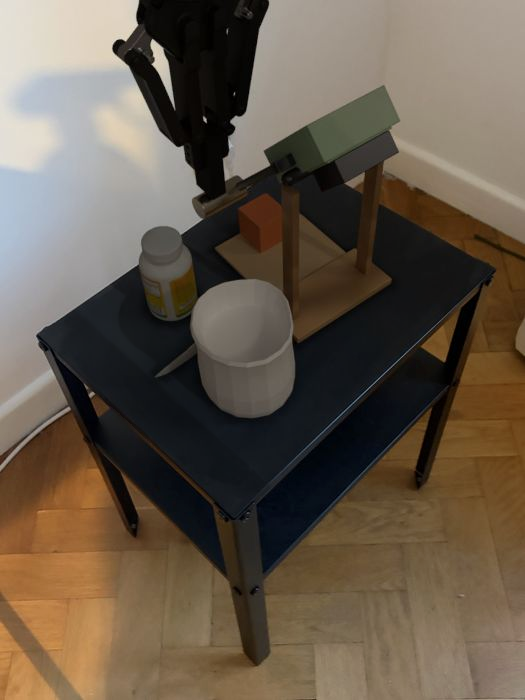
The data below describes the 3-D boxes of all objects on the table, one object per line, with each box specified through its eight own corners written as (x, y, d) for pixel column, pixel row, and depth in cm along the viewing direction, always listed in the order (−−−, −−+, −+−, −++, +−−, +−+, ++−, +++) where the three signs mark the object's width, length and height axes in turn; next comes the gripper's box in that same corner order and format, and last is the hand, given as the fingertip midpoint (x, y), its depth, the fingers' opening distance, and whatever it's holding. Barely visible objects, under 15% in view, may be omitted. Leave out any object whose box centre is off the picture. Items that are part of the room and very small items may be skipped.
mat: (346, 255, 82) (346, 253, 81) (268, 303, 78) (268, 300, 78) (290, 207, 87) (290, 204, 86) (214, 250, 83) (214, 247, 83)
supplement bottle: (147, 324, 77) (130, 261, 69) (150, 285, 80) (134, 222, 72) (198, 321, 77) (187, 258, 69) (199, 283, 80) (188, 219, 72)
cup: (253, 324, 76) (248, 260, 68) (319, 383, 72) (322, 321, 64) (181, 375, 73) (167, 314, 65) (245, 440, 68) (239, 383, 60)
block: (237, 208, 80) (259, 227, 78) (266, 192, 82) (288, 211, 80) (239, 234, 84) (260, 253, 82) (267, 218, 85) (288, 237, 83)
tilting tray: (212, 244, 70) (185, 193, 69) (337, 174, 75) (314, 125, 74) (278, 221, 56) (245, 156, 55) (426, 137, 61) (399, 76, 60)
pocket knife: (255, 308, 78) (254, 296, 76) (260, 313, 77) (260, 301, 76) (152, 380, 73) (149, 369, 71) (157, 385, 72) (154, 374, 71)
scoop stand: (262, 308, 78) (255, 179, 63) (354, 252, 82) (366, 119, 68) (298, 343, 75) (298, 216, 60) (391, 283, 79) (412, 151, 65)
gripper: (227, -128, 52) (243, 139, 71) (67, -71, 48) (130, 197, 67) (293, -91, 49) (291, 180, 68) (126, -26, 44) (174, 244, 64)
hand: (211, 188), depth 68 cm, fingers closed
